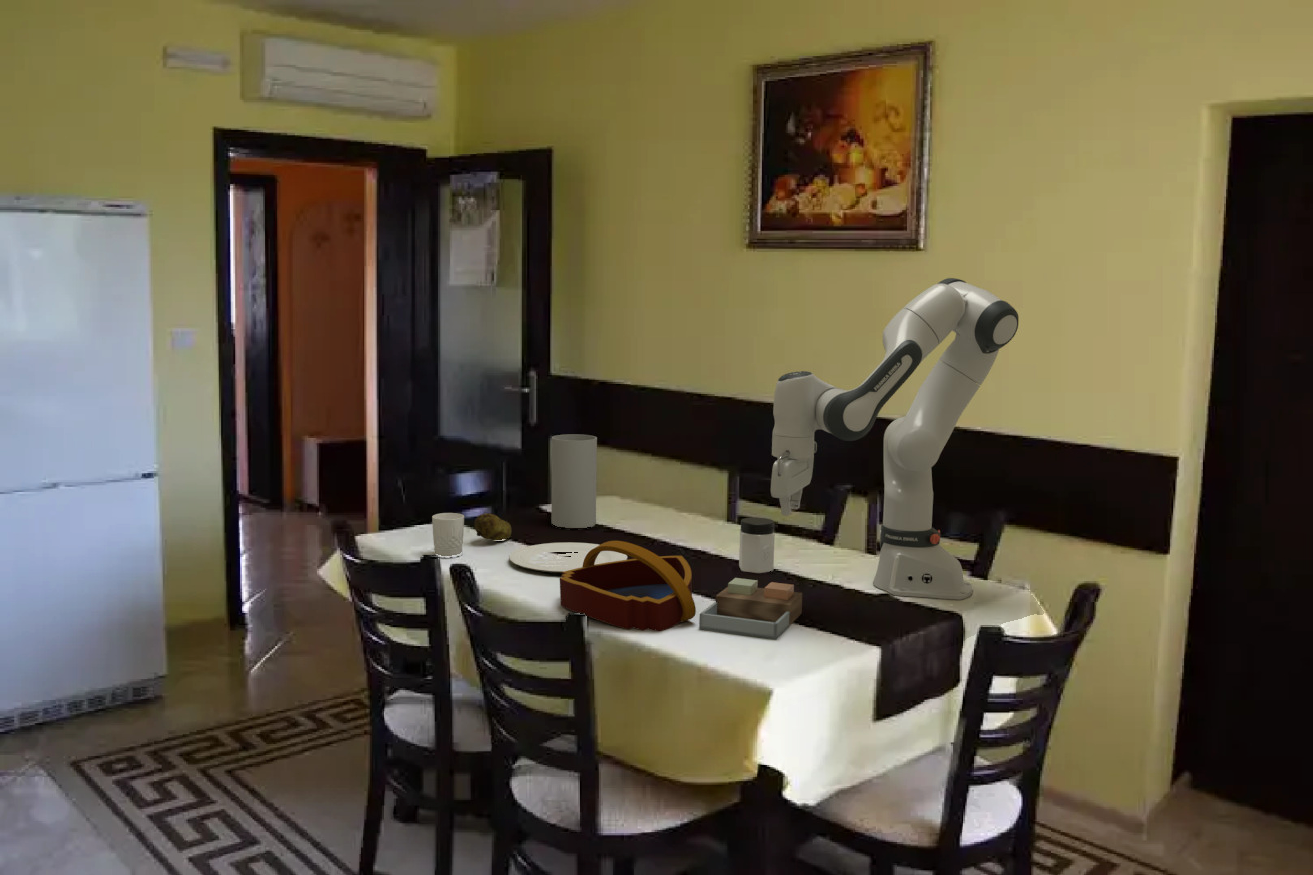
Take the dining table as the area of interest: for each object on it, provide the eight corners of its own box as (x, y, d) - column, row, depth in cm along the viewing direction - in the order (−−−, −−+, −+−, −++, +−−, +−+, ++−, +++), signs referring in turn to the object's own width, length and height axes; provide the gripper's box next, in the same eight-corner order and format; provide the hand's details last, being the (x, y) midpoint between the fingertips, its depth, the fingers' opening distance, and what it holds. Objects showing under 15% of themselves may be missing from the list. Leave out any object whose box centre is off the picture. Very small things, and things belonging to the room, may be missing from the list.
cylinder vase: (599, 529, 329) (600, 440, 325) (554, 530, 326) (555, 441, 323) (592, 520, 341) (593, 434, 337) (548, 521, 338) (549, 434, 335)
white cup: (426, 556, 295) (425, 517, 293) (443, 550, 302) (443, 511, 301) (453, 560, 292) (453, 520, 290) (470, 553, 299) (470, 514, 298)
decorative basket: (536, 610, 260) (528, 545, 256) (641, 571, 277) (635, 511, 273) (629, 653, 233) (621, 582, 230) (738, 608, 250) (733, 541, 247)
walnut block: (801, 613, 252) (802, 593, 252) (788, 626, 243) (789, 605, 243) (730, 604, 258) (730, 584, 258) (715, 616, 249) (715, 595, 248)
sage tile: (757, 589, 254) (757, 580, 254) (750, 595, 249) (750, 586, 249) (735, 586, 256) (735, 577, 255) (727, 592, 251) (728, 583, 251)
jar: (751, 575, 283) (753, 525, 282) (731, 567, 290) (732, 519, 288) (781, 570, 288) (782, 522, 286) (760, 563, 295) (761, 515, 293)
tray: (788, 626, 243) (789, 611, 242) (776, 639, 234) (776, 624, 234) (714, 616, 249) (714, 602, 248) (699, 629, 240) (699, 613, 240)
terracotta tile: (793, 593, 251) (793, 584, 251) (787, 599, 246) (787, 590, 246) (770, 591, 253) (771, 582, 252) (764, 597, 248) (764, 587, 248)
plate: (651, 563, 293) (652, 556, 293) (564, 585, 272) (564, 577, 272) (571, 543, 313) (571, 536, 313) (484, 562, 292) (484, 554, 291)
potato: (523, 540, 314) (523, 510, 313) (485, 548, 305) (485, 517, 304) (503, 535, 320) (503, 506, 319) (465, 542, 311) (465, 512, 309)
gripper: (794, 456, 241) (791, 522, 243) (819, 442, 260) (816, 504, 262) (764, 453, 243) (762, 519, 245) (791, 440, 262) (788, 502, 264)
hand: (790, 511), depth 254 cm, fingers open, 6 cm apart
